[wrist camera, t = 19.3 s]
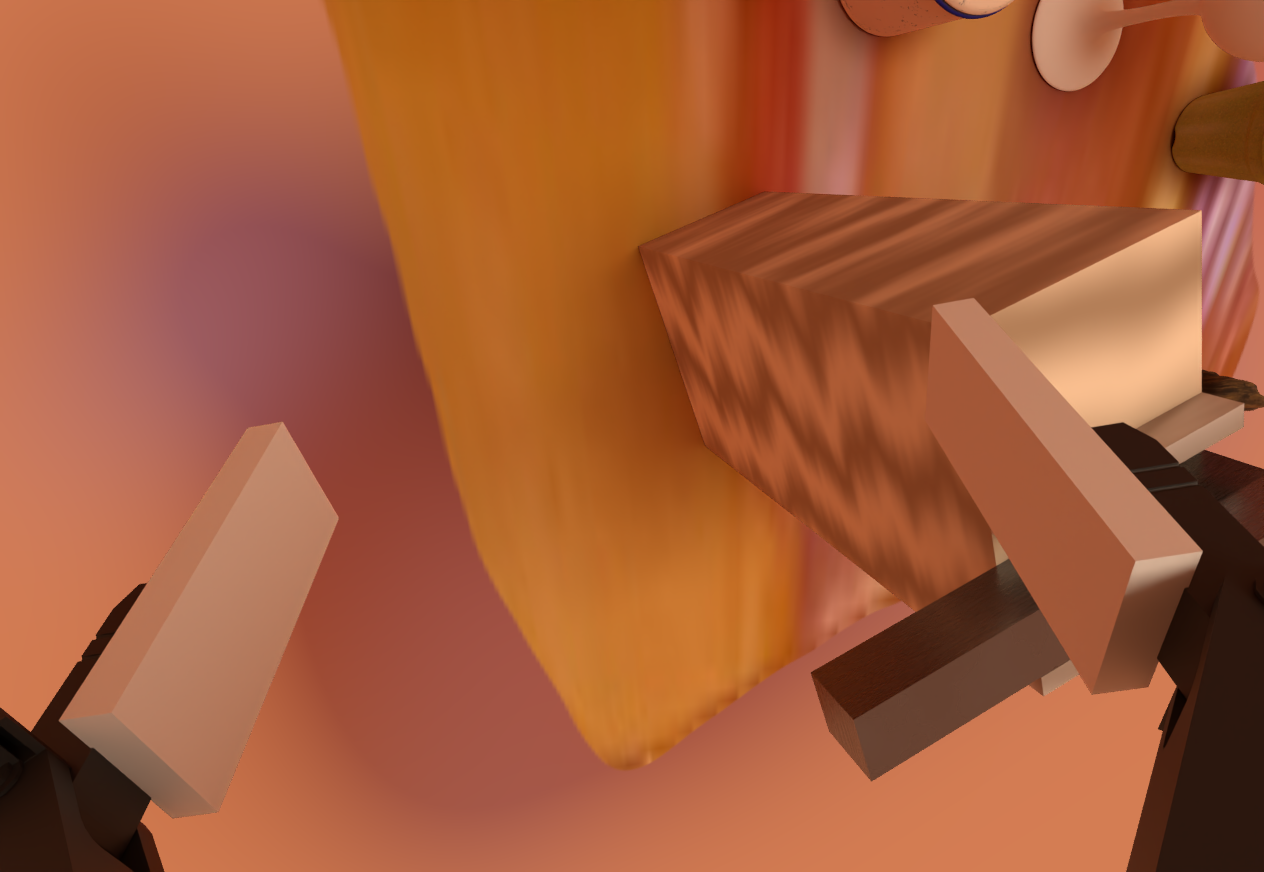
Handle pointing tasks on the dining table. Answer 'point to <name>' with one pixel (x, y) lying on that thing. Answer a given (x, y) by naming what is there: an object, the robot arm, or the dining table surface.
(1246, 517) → the dark wood beam
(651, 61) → the dining table surface
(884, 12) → the teacup with lid
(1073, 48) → the wineglass
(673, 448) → the dining table surface
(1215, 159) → the plant pot
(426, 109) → the dining table surface
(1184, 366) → the stand
